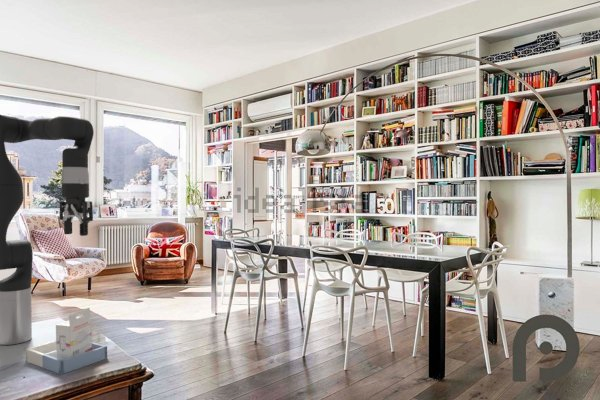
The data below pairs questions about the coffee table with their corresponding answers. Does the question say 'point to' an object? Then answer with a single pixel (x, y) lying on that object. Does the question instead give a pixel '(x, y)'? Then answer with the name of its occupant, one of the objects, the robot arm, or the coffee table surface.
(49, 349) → the organizer tray
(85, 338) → the ink cartridge box
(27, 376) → the coffee table surface
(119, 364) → the coffee table surface
